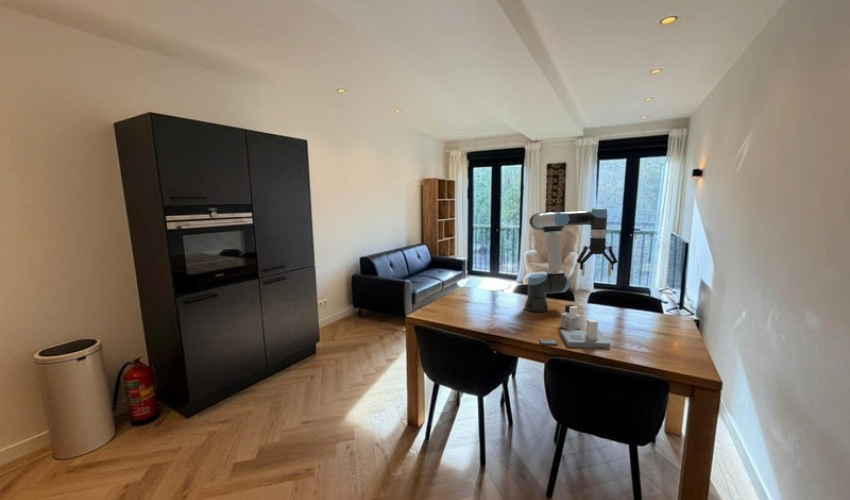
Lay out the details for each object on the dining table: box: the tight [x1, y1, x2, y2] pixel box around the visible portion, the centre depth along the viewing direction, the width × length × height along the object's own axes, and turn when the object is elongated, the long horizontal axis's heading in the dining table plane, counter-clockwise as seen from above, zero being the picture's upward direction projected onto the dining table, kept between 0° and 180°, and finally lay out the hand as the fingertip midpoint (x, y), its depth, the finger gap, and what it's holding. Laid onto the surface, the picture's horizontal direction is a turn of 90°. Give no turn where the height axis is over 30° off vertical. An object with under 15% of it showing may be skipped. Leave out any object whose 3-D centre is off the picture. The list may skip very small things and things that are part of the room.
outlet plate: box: [560, 329, 611, 349], centre depth 180 cm, size 16×20×3 cm
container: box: [560, 304, 582, 330], centre depth 197 cm, size 8×8×13 cm
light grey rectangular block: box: [586, 318, 599, 340], centre depth 177 cm, size 4×4×12 cm
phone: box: [539, 339, 558, 346], centre depth 178 cm, size 4×8×1 cm, turn 81°
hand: (596, 275), depth 188 cm, fingers open, 13 cm apart
